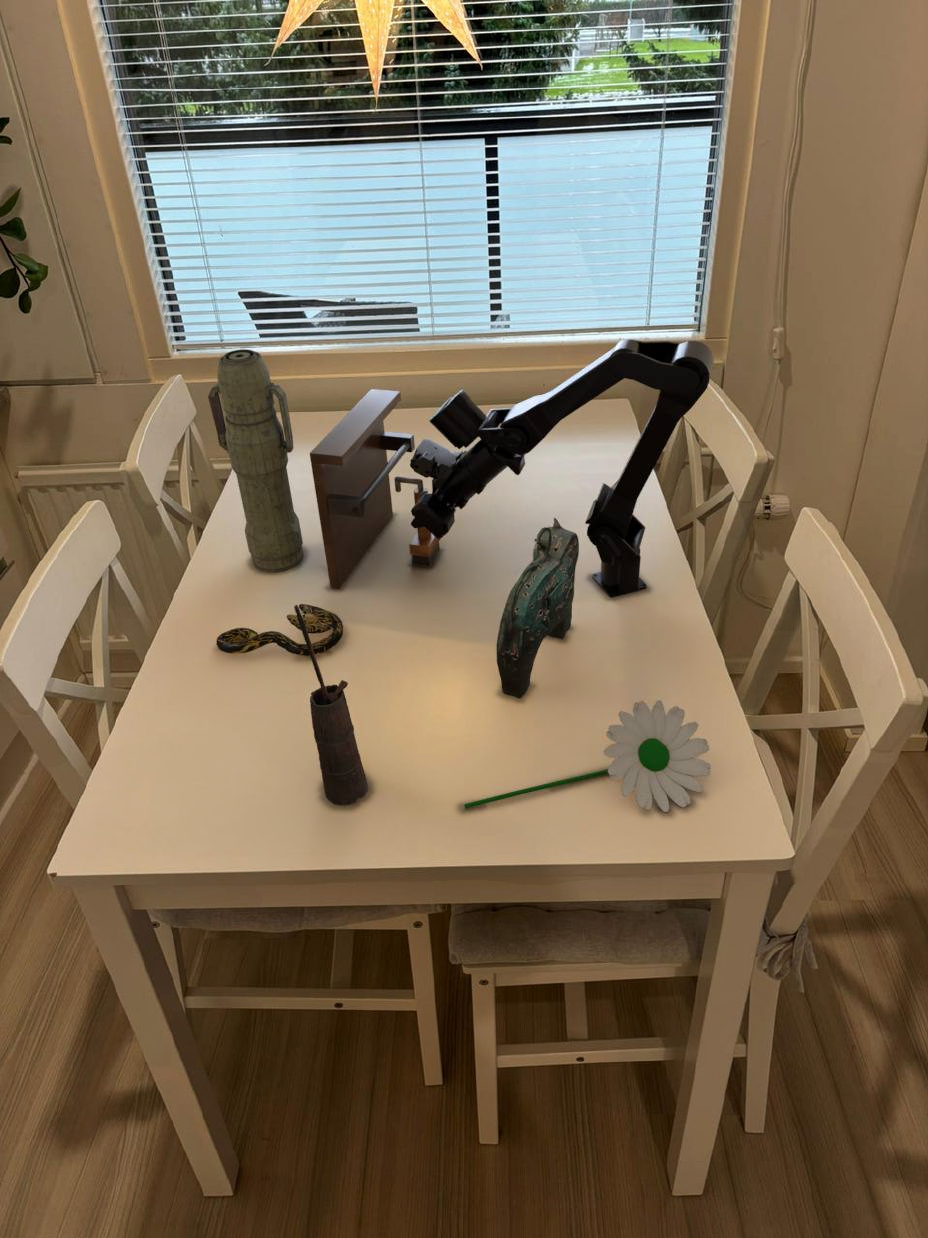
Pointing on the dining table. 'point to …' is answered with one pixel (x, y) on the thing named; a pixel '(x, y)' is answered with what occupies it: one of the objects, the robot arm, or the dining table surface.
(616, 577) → the robot arm
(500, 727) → the dining table surface
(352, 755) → the butter churn
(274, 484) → the thermos
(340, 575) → the wall shelf
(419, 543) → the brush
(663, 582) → the dining table surface
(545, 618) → the dark green arched piece
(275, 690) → the dining table surface
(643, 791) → the flower
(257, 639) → the toy snake
